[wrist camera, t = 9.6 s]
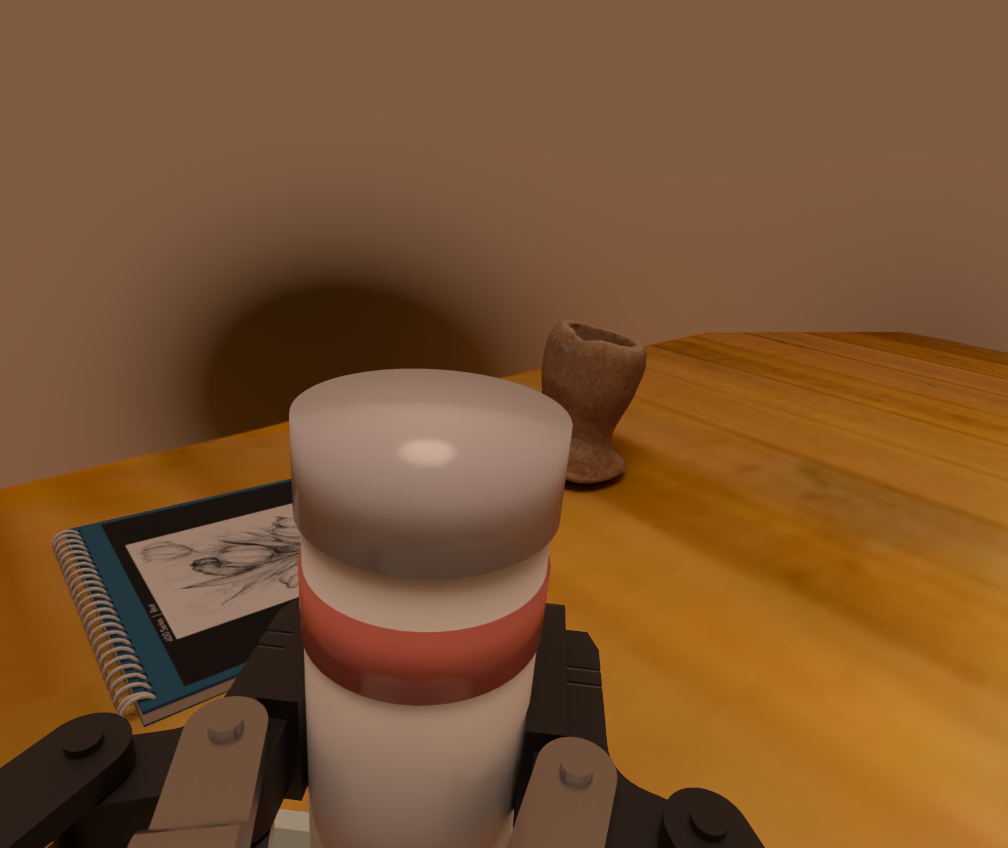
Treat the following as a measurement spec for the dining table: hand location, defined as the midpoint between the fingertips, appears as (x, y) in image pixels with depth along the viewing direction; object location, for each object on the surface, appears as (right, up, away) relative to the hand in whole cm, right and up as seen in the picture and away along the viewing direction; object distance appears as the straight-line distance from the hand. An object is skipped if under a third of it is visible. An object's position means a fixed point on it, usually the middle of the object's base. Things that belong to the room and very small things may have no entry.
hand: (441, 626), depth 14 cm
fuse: (-1, -8, 0) cm, 8 cm away
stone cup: (+8, 0, +57) cm, 58 cm away
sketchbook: (-14, -6, +37) cm, 40 cm away
